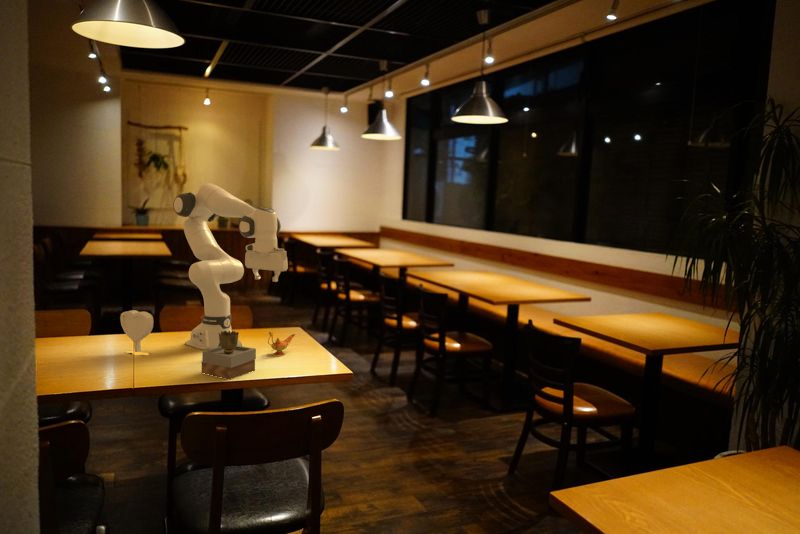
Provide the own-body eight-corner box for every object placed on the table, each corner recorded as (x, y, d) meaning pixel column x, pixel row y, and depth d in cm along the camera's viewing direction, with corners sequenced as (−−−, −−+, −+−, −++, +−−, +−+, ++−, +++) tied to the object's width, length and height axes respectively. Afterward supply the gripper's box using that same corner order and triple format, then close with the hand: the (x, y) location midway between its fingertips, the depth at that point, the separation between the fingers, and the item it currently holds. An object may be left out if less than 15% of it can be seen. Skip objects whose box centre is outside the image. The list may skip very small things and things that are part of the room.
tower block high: (202, 362, 227) (202, 351, 226) (228, 354, 239) (228, 343, 239) (231, 367, 221) (231, 356, 220) (255, 359, 233) (255, 348, 233)
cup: (232, 356, 225) (232, 335, 225) (215, 354, 227) (214, 333, 226) (242, 351, 233) (242, 331, 232) (225, 349, 234) (225, 329, 234)
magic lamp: (301, 349, 266) (301, 325, 265) (274, 359, 251) (274, 333, 249) (288, 347, 270) (289, 323, 268) (261, 356, 254) (261, 331, 252)
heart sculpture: (119, 352, 255) (118, 310, 253) (129, 349, 260) (128, 308, 257) (146, 357, 248) (145, 314, 246) (155, 354, 253) (154, 312, 251)
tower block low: (201, 374, 228) (201, 361, 227) (228, 365, 240) (228, 353, 240) (228, 380, 221) (228, 367, 221) (254, 371, 234) (254, 359, 233)
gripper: (291, 248, 244) (291, 281, 245) (253, 245, 253) (253, 277, 255) (281, 249, 238) (281, 283, 240) (242, 246, 248) (242, 279, 249)
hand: (266, 280), depth 247 cm, fingers open, 8 cm apart
